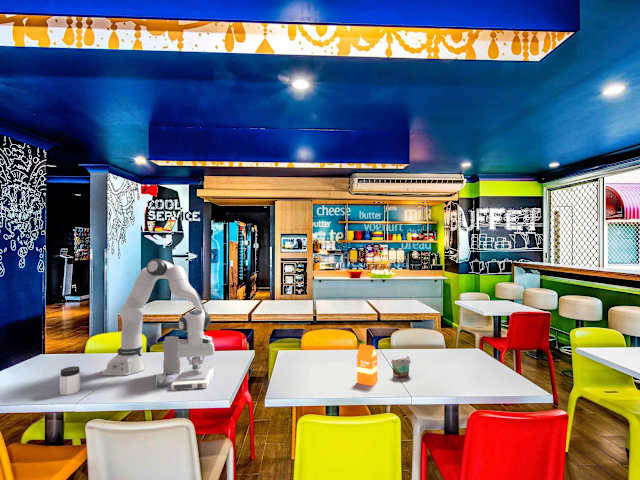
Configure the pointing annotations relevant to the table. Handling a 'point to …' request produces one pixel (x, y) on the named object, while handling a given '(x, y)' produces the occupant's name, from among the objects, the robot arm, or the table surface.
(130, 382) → the table surface
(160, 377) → the cylinder
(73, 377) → the jar
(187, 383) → the white rimmed tray
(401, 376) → the food container
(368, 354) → the orange juice
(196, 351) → the robot arm
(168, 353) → the tall pale column
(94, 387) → the table surface
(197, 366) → the cylinder
